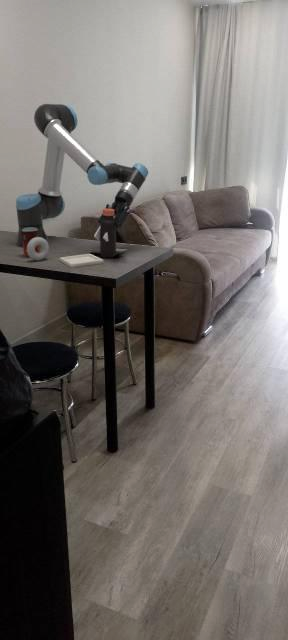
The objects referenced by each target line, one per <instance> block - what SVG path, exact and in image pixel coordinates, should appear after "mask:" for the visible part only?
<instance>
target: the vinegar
mask: <svg viewBox="0 0 288 640" xmlns="http://www.w3.org/2000/svg"><path fill="white" fill-rule="evenodd" d="M102 213H103V219H102V220H101V221H100V224H99V225H100V238H99V241H100V242H99V248H100V249H99V255H100V256H101V257H102V258H106V259H107V258H109V259H110V258H115V257H116V255H115V253H116V254H117V229H115V225H116V221H115V219H114V218H115V216H114V209H105V208H103V209H102ZM111 231H112V232H113V234H111V233H110V232H111ZM107 232H108V242H107V241H106V240H105V239H104V238H103V237H104V235H105V233H107ZM114 256H115V257H114Z"/></svg>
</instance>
